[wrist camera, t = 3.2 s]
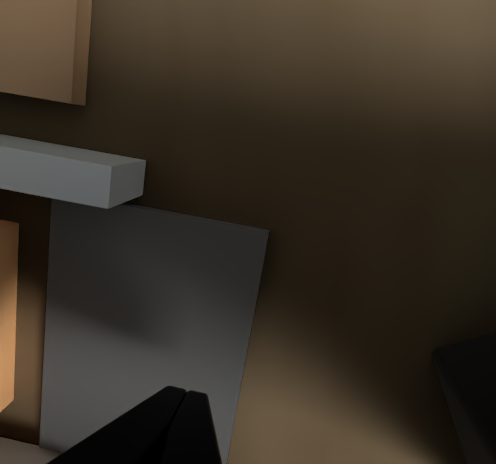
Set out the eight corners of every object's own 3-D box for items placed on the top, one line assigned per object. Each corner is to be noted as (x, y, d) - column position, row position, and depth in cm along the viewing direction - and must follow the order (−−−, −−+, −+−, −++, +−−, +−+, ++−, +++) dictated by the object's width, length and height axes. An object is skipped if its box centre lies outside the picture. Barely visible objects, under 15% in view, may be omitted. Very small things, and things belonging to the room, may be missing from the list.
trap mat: (269, 229, 9) (268, 232, 9) (223, 481, 11) (221, 490, 11) (58, 190, 10) (51, 191, 9) (46, 440, 11) (39, 448, 11)
